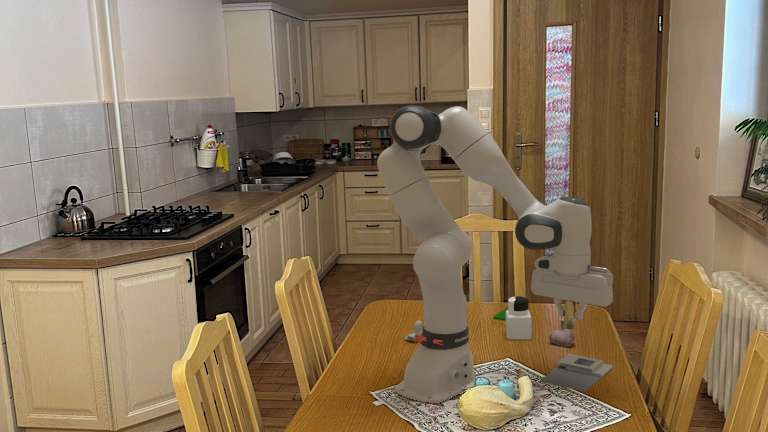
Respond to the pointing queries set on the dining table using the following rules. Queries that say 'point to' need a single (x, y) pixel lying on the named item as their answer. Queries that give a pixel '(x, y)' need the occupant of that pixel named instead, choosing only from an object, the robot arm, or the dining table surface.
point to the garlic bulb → (562, 336)
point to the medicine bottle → (518, 319)
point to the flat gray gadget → (593, 367)
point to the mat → (571, 378)
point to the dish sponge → (500, 317)
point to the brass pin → (570, 314)
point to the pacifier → (417, 331)
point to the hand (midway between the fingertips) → (570, 317)
